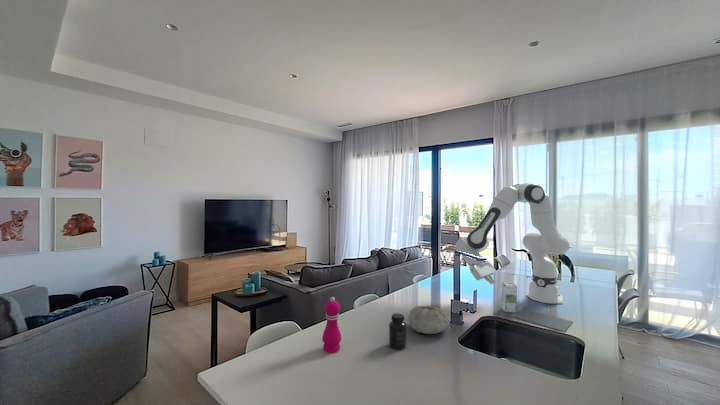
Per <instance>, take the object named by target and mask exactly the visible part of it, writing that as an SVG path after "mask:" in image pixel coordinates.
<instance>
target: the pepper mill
mask: <svg viewBox="0 0 720 405" xmlns="http://www.w3.org/2000/svg"><path fill="white" fill-rule="evenodd" d="M329 298H330V299H329V301H327V302H326V303H325V305H324V312H325V319H326V326H325V328H324V330H323V333H322V338H321V339H322V340H321V341H322V342H323V351H324V352H325V353H327V354H335V353H338V352H339V351H340V348H341V341H342V333H341V331H340V328H339V325H338V320H339V318H340V316H339V315H340V314H339V313H340V311H341V305H340V303H339V301H336V298H335V297H334V296H331V297H329Z"/></svg>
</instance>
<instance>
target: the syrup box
mask: <svg viewBox="0 0 720 405" xmlns="http://www.w3.org/2000/svg"><path fill="white" fill-rule="evenodd" d="M500 300H501V306H500V309H501V310H503V311H504V312H505V313H515V314H516V313H517V307H518V306H517V304H518V302H517V301H518V285H517V283H516V284H515V283H514V282H507V281H506V282H505V281H504V282H501V298H500Z"/></svg>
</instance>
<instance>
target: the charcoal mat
mask: <svg viewBox="0 0 720 405" xmlns="http://www.w3.org/2000/svg"><path fill="white" fill-rule="evenodd" d="M511 317H512V318H514V319H517V320H521V321H523V322H527V323H531V324H535V325H538V326H542V327H545V328H548V327H549V329H552V328H553V329H552V330H555V329H557V330H556V331H559V330H561V331H560V332H562V331H564V332H563V333H566V331H568V329H569V328H570V327H571V325H573V323H574V321H572V320H570V319H566V318H561V317H557V316H554V315H550V314H546V313H543V312H539V311H538V312H537V311H534V310H530V309H526V308H522V309H521V310H519V311H517V312H516V313H515V314H514V315H512V316H511Z"/></svg>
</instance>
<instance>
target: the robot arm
mask: <svg viewBox="0 0 720 405" xmlns="http://www.w3.org/2000/svg"><path fill="white" fill-rule="evenodd" d="M517 202H518V203H519V202H520V203H525V204H526V203H528V205H529V211H530V218H531V220H530V221H531V225H532V227H534V228H535V229H536V230H538V233H537V232H532V233H526V234H525V235H524V236H523V237H522V245H523V246H524V247H525V249H526V250H527V251H528V252H529V255H530V256H531V259H532V264H533V266H532V267H533V268H532V269H533V271H532V272H533V273H532V276H531V277H532V278H531V280H532V281H531V282H529V284H528V293H526V294H525V296H526V297H528V298H529V299H531V300H532V301H535V302H539V303H544V304H557V305H558V304H559V305H562V304H563V302H564V300H563V299H564V296H563V295H561V294H560V293H559V291H560V290H559V289H560V288H559V286H558V285H557V275H556V263H555V262H554V261H553V260H552V259H551V258H550V257H549V255H548V254H550V255H566V253H567V252H568V251H569V250H570V242H569V240H568V239H567V238H566V237H565V236H563V235H562V233H560V232H559V230H558V227H557V226H556V224H555V221H554V220H555V218H554V212H553V207H552V201H551V198H550V196H549V195H548V194H547V193H545V190H544V188H543V187H542V186H541V185H539V184H536V183H517V184H514V185H512V186H510V185H509V186H508V185H507V186H503V188H501V190H500V191H499V192H498V193H497V194H496V195H495V197H494V199H493V200H492V202H491V203H490V206H489V209H488V210H487V212H486V214H485V216H484V217H483V218H482V220H481V221H480V223H479V224H478V225H477V227H476V228H475V229H473V230H472V231H470V232H469V233H468V235H467V236H462V237H460V238H458V239H457V241H456V242H455V246H454V247H455V249H456V251H457V252H458V251H461V252H466V253H469V254H473V255H475V256H479V257H484V256H483V255H481V254H480V253H481V252H483V251H485V250H486V249H488V247H489V244H490V241H489V239H488V234H489V233H490V231H491V230H492V228H493V227H494V225H495V224H496V223H497V222H498V221H499V220H503V219H505V218H507V217H508V215H509V214H511V212H512V210H513V209H514V206H515V205H516V204H517ZM462 258H463V259H464V260H465V263H466V264H467V265H468V268H469V271H470V273H471V274H472V276H473V277H474V279H475V280H477V281H480V280H485V281H487V282H488V283H489V285H494V284H495V283H496V281H495V280H494V277H493V275H494V274H496V273H497V270H496V268H495V267H494V266H493V265H492V263H491V262H490V261H489V260H488V261H477V260H474V259H471V258H469V257H466V256H463V257H462Z"/></svg>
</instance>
